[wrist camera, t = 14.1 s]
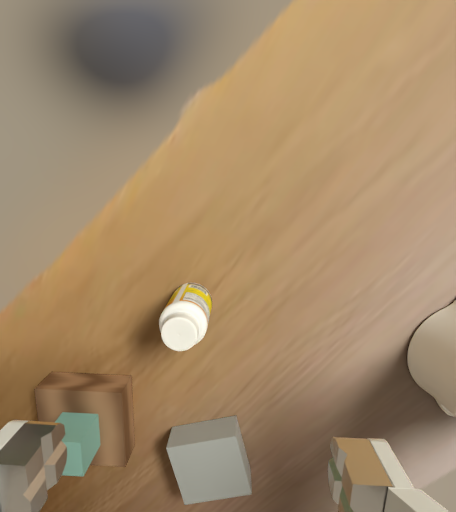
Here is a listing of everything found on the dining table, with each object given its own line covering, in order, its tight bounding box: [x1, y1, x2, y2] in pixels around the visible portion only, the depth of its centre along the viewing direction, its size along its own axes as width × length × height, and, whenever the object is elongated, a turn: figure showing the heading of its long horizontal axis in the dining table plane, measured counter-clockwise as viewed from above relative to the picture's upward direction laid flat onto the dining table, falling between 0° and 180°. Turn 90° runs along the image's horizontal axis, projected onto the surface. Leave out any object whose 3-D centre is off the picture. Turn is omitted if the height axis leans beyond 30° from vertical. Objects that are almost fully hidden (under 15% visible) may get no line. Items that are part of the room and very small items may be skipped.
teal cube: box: [54, 412, 101, 476], centre depth 42 cm, size 5×5×5 cm
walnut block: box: [34, 372, 135, 467], centre depth 46 cm, size 12×12×4 cm
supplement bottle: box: [159, 283, 212, 351], centre depth 39 cm, size 6×6×10 cm
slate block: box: [166, 416, 252, 505], centre depth 47 cm, size 10×10×4 cm
